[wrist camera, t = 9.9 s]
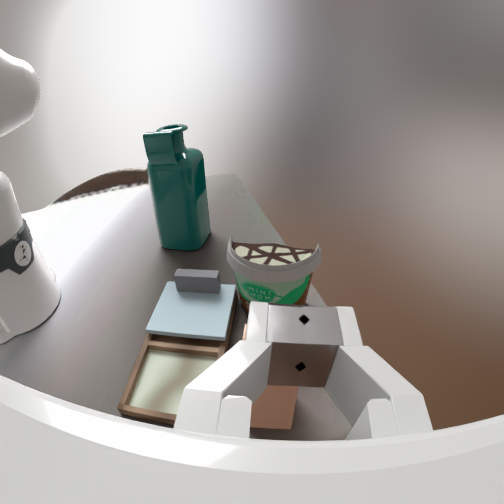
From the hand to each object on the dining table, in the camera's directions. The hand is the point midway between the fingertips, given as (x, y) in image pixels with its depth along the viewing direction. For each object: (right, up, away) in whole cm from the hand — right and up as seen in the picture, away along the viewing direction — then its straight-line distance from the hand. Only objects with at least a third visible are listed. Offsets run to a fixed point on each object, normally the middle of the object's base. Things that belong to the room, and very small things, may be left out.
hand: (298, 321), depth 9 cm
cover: (-9, -6, +32) cm, 34 cm away
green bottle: (-14, +4, +51) cm, 53 cm away
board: (-10, -10, +29) cm, 32 cm away
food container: (+1, -7, +34) cm, 35 cm away
